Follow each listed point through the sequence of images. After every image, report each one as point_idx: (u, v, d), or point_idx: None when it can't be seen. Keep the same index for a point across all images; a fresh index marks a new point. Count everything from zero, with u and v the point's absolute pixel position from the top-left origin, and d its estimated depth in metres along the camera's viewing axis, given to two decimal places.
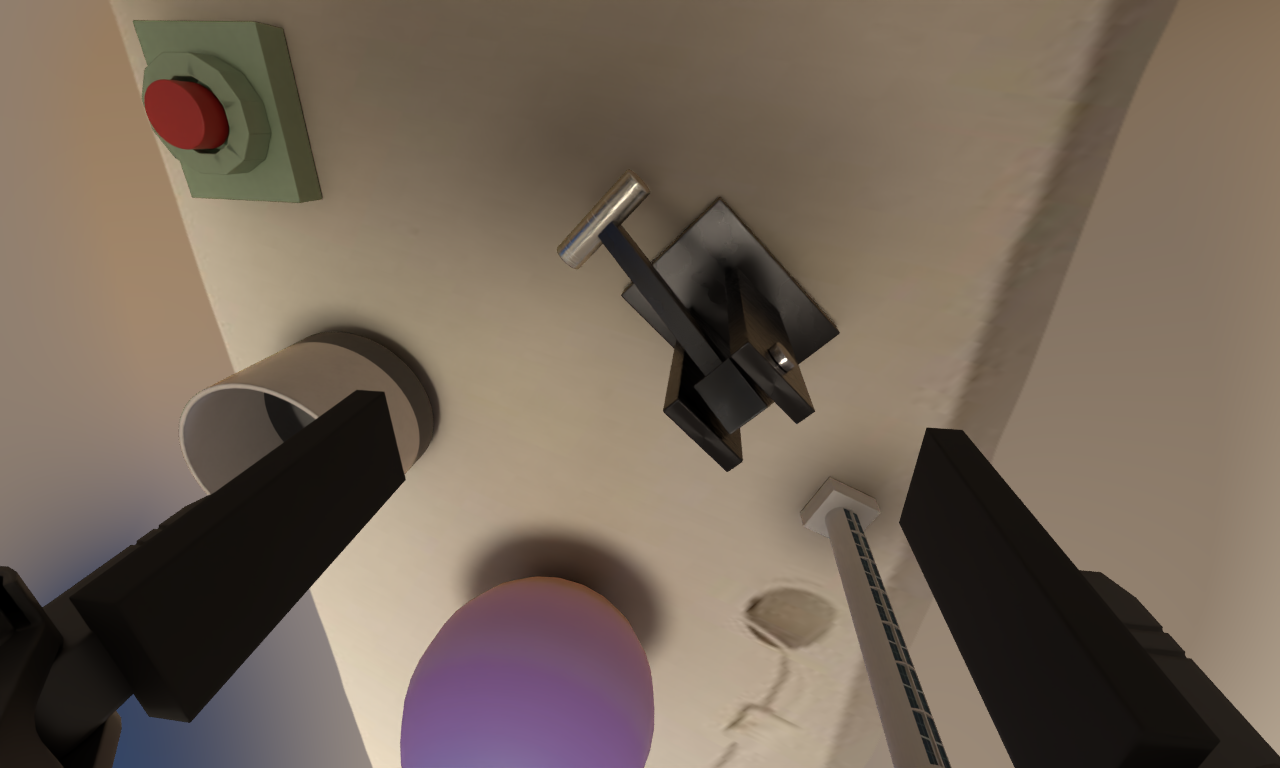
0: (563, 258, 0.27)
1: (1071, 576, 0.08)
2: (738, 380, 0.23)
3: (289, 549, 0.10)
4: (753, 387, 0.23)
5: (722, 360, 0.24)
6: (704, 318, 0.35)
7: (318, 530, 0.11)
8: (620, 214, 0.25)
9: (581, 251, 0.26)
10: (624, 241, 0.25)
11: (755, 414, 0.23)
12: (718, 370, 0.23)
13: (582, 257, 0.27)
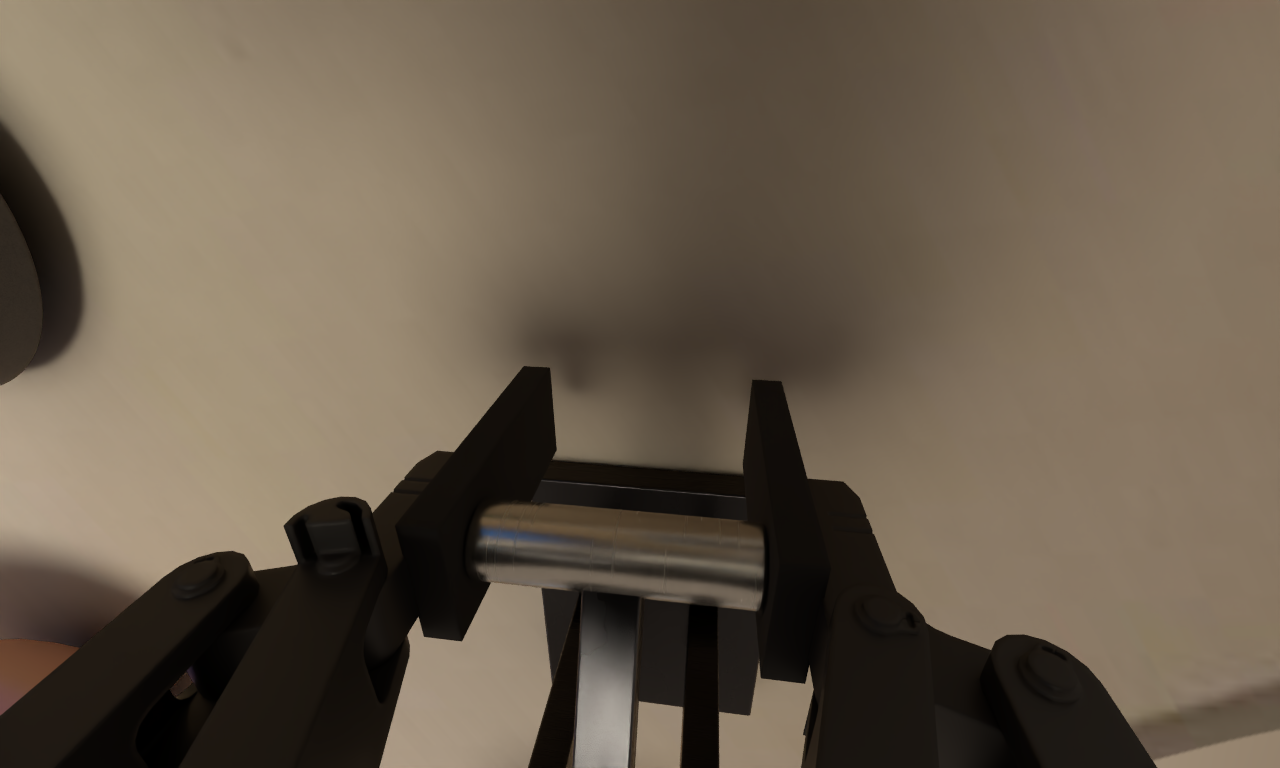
0: (468, 561, 0.09)
1: (796, 476, 0.10)
2: None
3: None
4: None
5: None
6: None
7: (518, 487, 0.12)
8: (668, 600, 0.09)
9: (520, 582, 0.10)
10: (628, 663, 0.09)
11: None
12: None
13: None
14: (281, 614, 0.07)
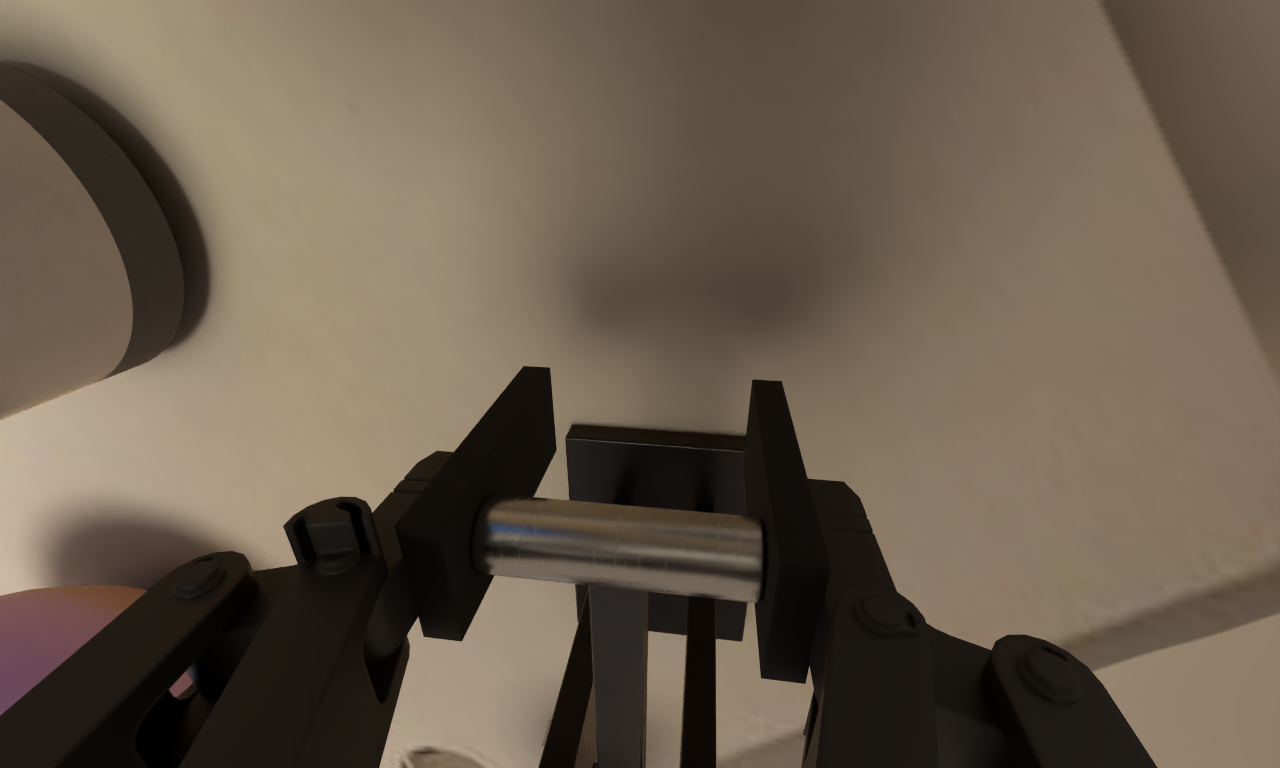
0: (477, 567, 0.10)
1: (796, 476, 0.10)
2: None
3: None
4: None
5: None
6: None
7: (518, 487, 0.12)
8: None
9: None
10: (636, 635, 0.10)
11: None
12: None
13: None
14: (281, 614, 0.07)
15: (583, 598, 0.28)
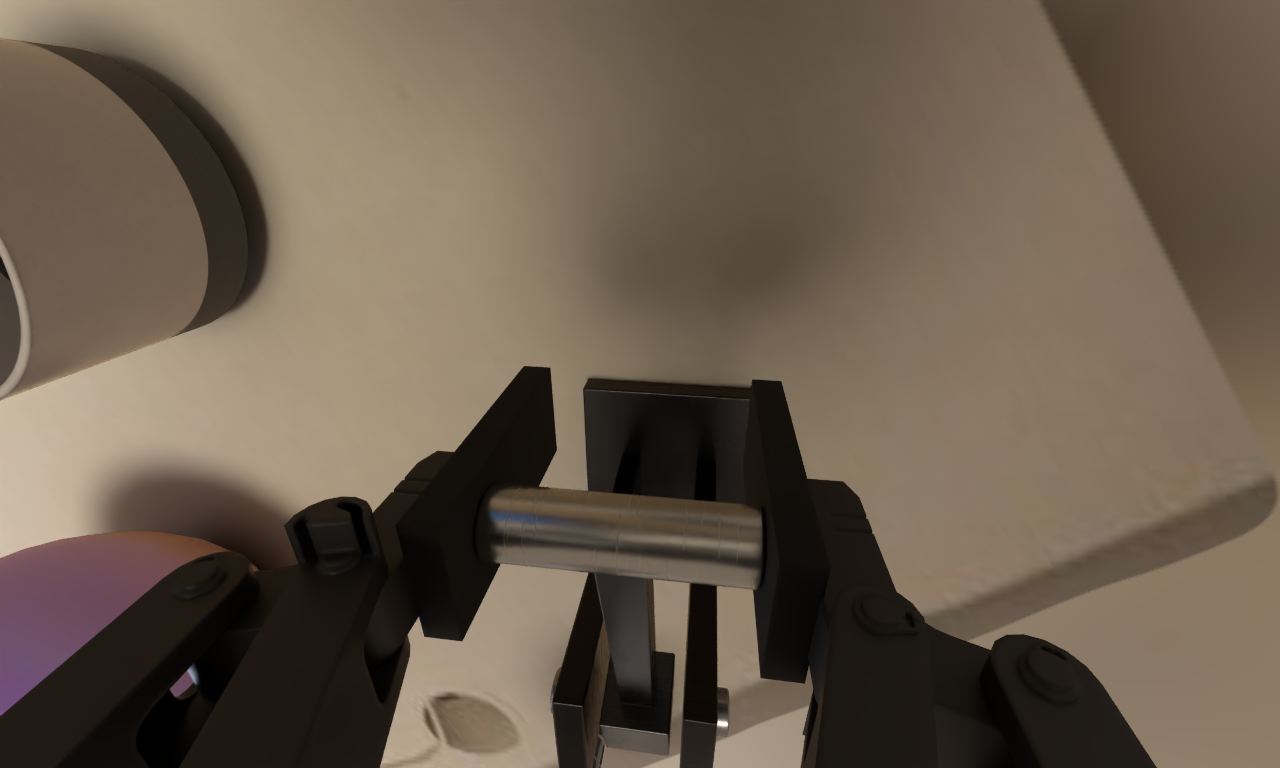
0: (484, 560, 0.10)
1: (796, 476, 0.10)
2: (659, 742, 0.17)
3: None
4: None
5: (654, 698, 0.16)
6: (641, 475, 0.28)
7: None
8: None
9: None
10: (641, 601, 0.11)
11: (650, 752, 0.18)
12: (645, 734, 0.16)
13: None
14: (282, 614, 0.07)
15: None
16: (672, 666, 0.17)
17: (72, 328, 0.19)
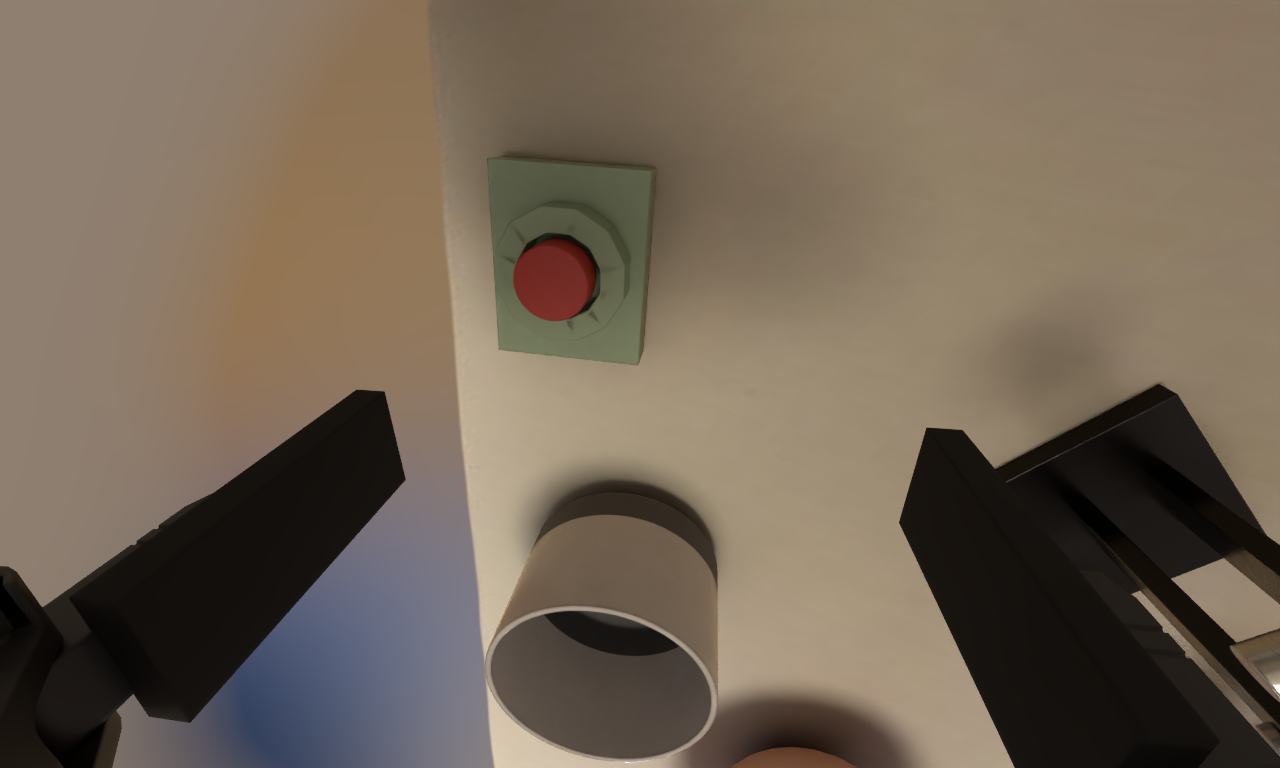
0: None
1: (1071, 576, 0.08)
2: None
3: (289, 549, 0.10)
4: None
5: None
6: (1101, 513, 0.30)
7: (318, 530, 0.11)
8: None
9: None
10: None
11: None
12: None
13: None
14: None
15: None
16: None
17: (716, 667, 0.28)
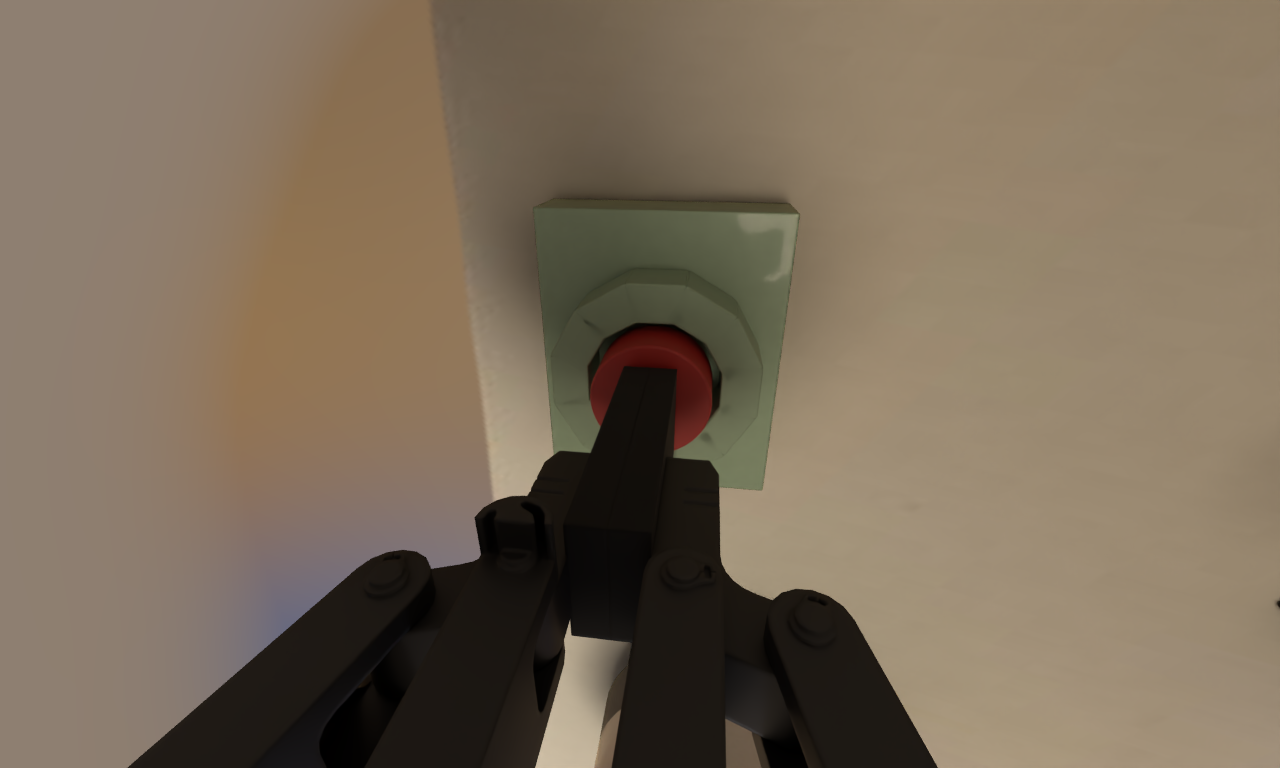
0: None
1: (653, 453, 0.10)
2: None
3: None
4: None
5: None
6: None
7: None
8: None
9: None
10: None
11: None
12: None
13: None
14: (465, 606, 0.07)
15: None
16: None
17: None
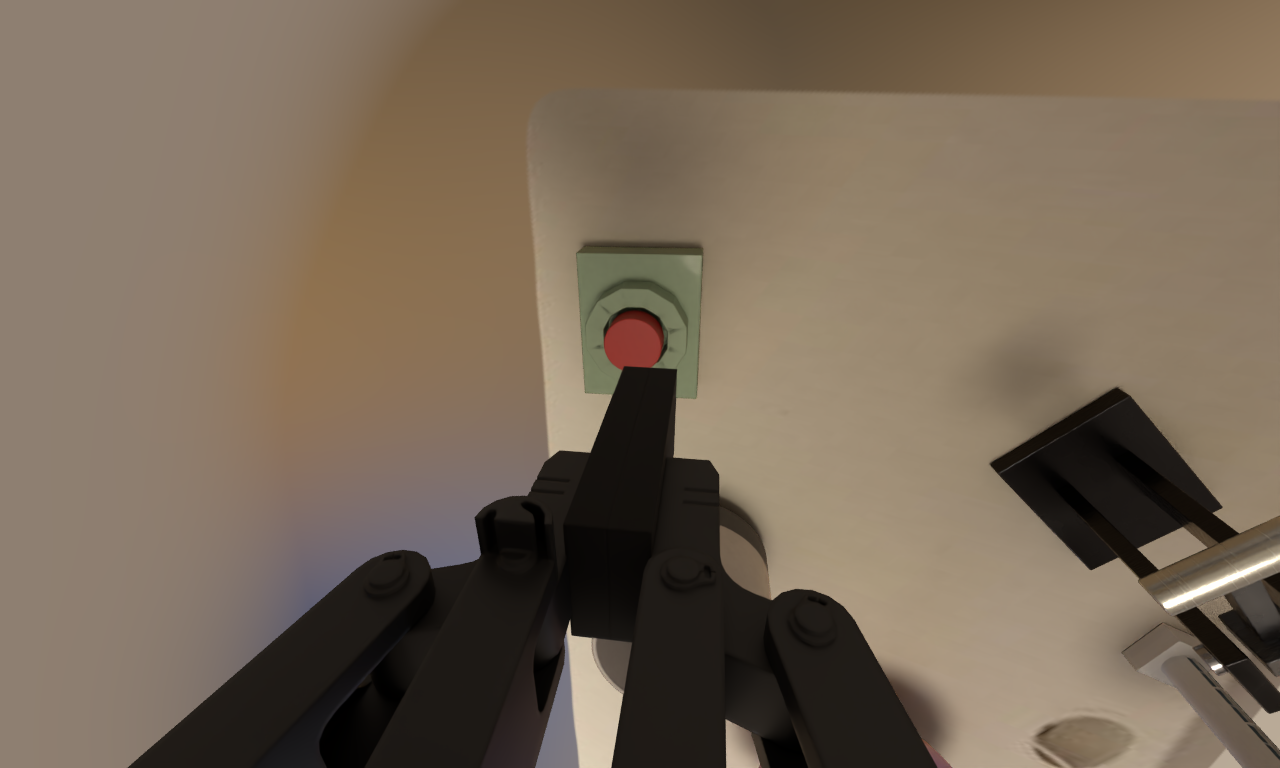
0: (1174, 615, 0.21)
1: (654, 453, 0.10)
2: None
3: None
4: None
5: None
6: (1081, 493, 0.36)
7: None
8: None
9: None
10: (1260, 586, 0.21)
11: None
12: None
13: None
14: (465, 606, 0.07)
15: (1082, 552, 0.39)
16: (1275, 604, 0.25)
17: None
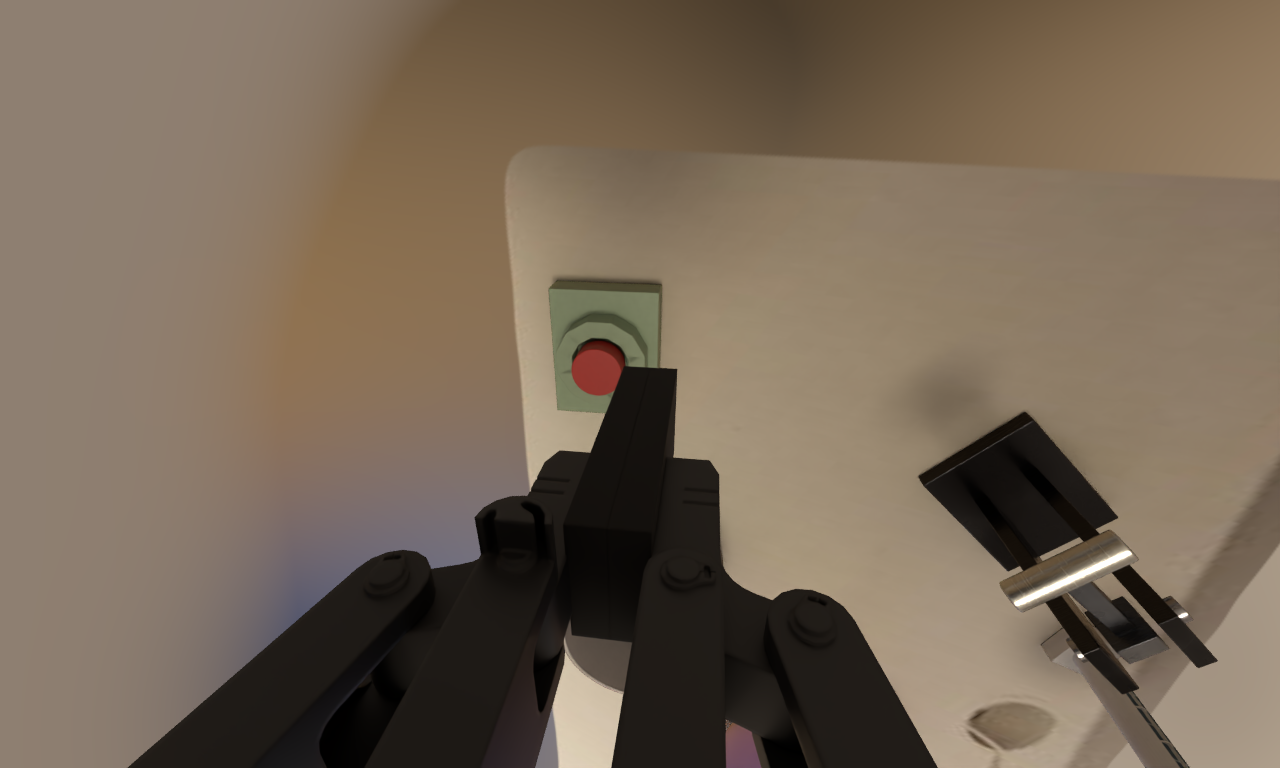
0: (1023, 611, 0.26)
1: (654, 453, 0.10)
2: (1157, 643, 0.29)
3: None
4: (1164, 642, 0.29)
5: (1133, 624, 0.29)
6: (996, 504, 0.41)
7: None
8: None
9: None
10: (1093, 588, 0.25)
11: (1157, 652, 0.30)
12: (1145, 643, 0.29)
13: None
14: (465, 606, 0.07)
15: (999, 556, 0.43)
16: (1127, 603, 0.30)
17: None
